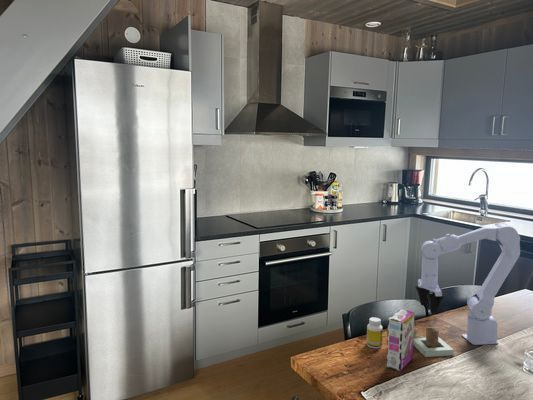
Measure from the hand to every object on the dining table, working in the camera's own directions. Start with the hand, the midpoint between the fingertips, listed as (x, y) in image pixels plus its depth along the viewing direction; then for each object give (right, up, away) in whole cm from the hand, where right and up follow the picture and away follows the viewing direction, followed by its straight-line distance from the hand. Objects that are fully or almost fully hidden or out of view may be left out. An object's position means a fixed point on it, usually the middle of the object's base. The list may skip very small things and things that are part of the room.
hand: (428, 308), depth 152 cm
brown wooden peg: (-3, -12, -10) cm, 16 cm away
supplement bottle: (-22, -12, -7) cm, 26 cm away
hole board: (-3, -12, -10) cm, 16 cm away
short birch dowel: (-8, -11, -3) cm, 14 cm away
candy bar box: (-17, -13, -19) cm, 29 cm away
